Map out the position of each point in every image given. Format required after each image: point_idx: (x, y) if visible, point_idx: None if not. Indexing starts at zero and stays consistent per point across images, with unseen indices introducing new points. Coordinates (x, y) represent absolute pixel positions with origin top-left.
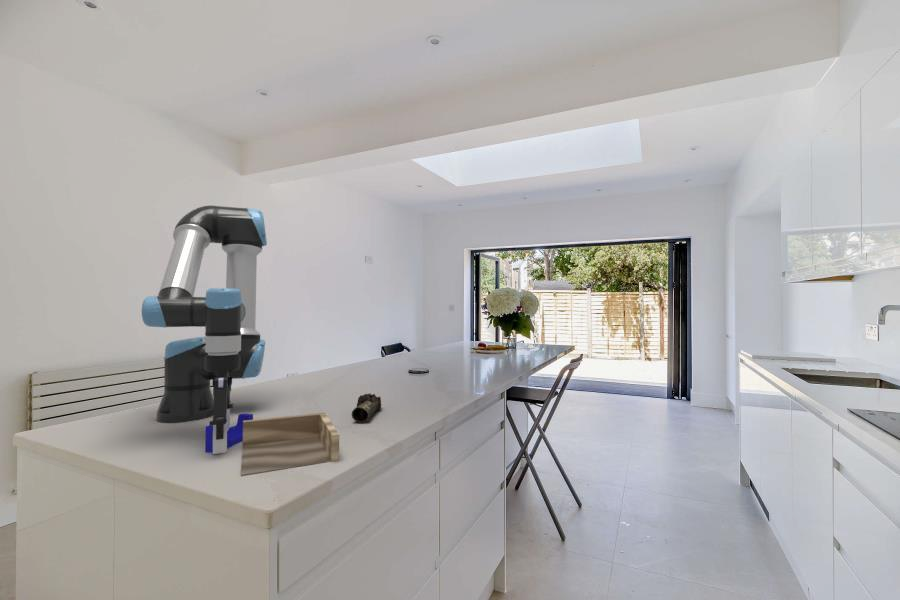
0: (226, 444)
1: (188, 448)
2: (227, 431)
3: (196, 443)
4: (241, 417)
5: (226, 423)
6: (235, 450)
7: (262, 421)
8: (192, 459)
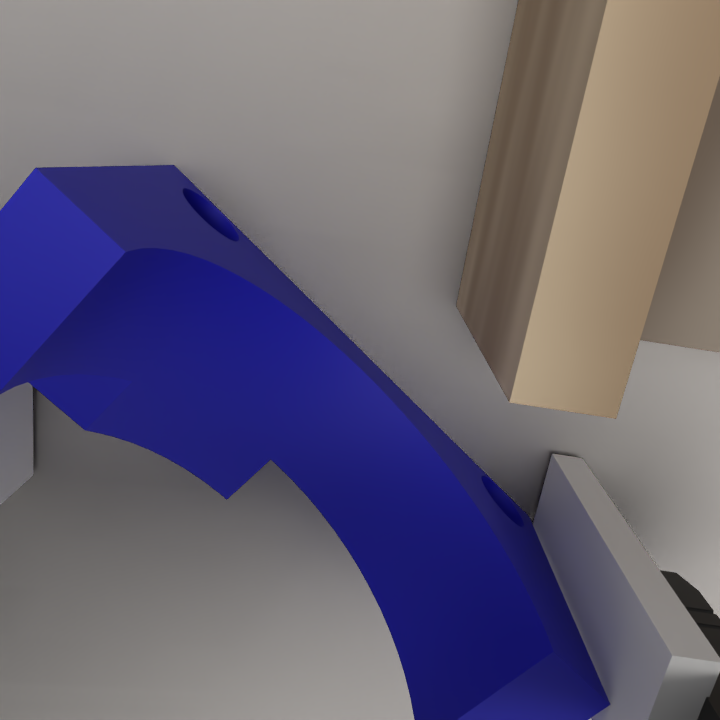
0: (608, 497)
1: (248, 670)
2: (125, 439)
3: (135, 618)
4: (55, 345)
5: (715, 664)
6: None
7: (697, 103)
8: None
